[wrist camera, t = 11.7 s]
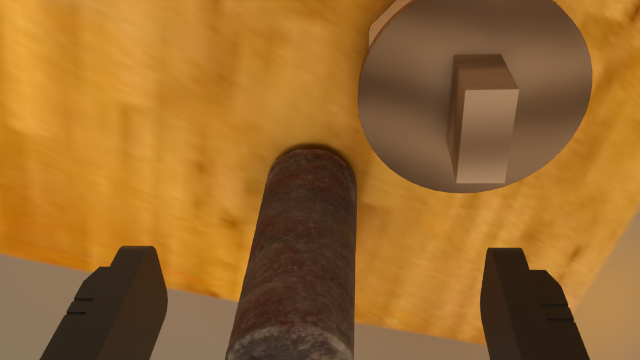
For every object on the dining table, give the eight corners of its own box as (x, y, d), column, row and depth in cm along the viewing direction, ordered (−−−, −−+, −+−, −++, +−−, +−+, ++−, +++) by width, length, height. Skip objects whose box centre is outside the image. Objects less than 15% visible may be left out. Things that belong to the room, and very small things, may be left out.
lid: (357, -19, 35) (356, 15, 30) (609, -26, 34) (653, 8, 29) (358, 183, 43) (358, 238, 38) (563, 183, 42) (591, 239, 37)
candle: (298, 122, 46) (261, 312, 30) (376, 166, 48) (383, 369, 31) (252, 189, 50) (197, 391, 33) (326, 228, 52) (309, 438, 35)
